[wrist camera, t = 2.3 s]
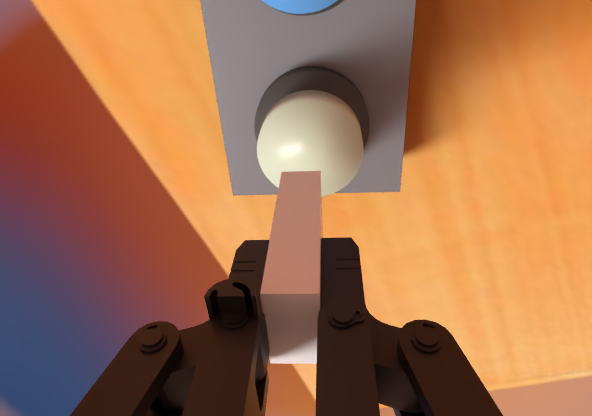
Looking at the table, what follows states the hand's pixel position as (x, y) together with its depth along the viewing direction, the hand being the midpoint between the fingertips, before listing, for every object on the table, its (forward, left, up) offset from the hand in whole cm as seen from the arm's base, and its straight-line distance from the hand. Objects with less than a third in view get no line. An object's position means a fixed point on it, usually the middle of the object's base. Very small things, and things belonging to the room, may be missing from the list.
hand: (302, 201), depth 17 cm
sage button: (0, 0, -5) cm, 6 cm away
